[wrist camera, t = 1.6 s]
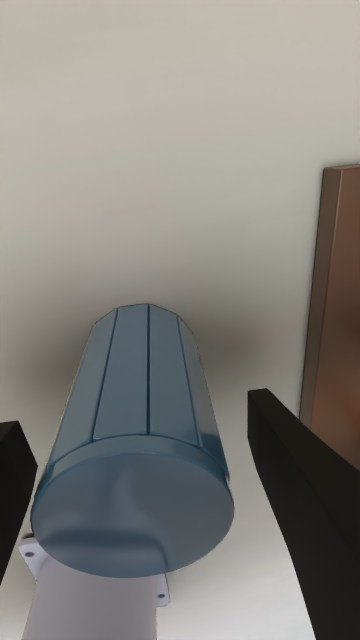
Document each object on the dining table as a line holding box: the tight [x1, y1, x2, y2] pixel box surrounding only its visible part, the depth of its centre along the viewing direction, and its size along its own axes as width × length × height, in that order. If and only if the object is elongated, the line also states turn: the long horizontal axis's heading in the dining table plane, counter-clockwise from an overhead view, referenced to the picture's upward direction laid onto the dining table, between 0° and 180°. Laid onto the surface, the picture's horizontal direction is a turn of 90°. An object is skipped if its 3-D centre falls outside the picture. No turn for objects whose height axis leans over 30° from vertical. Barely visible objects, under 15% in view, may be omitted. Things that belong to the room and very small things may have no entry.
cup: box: [30, 304, 234, 578], centre depth 11 cm, size 5×5×8 cm
